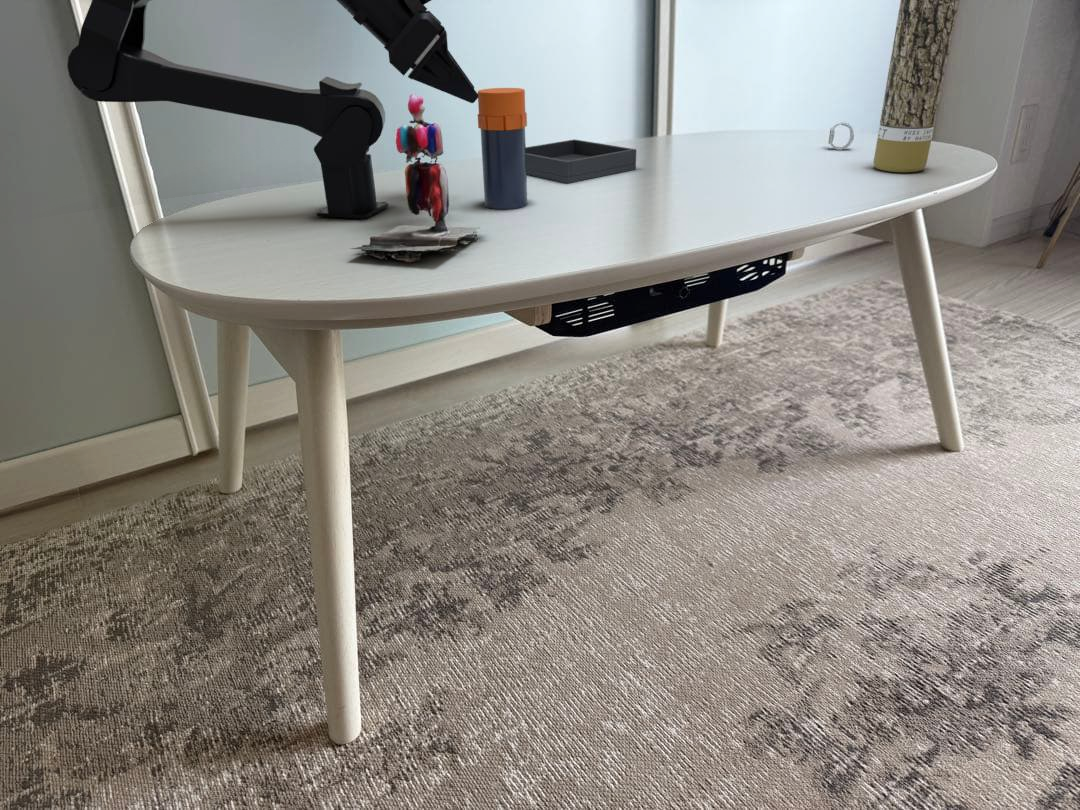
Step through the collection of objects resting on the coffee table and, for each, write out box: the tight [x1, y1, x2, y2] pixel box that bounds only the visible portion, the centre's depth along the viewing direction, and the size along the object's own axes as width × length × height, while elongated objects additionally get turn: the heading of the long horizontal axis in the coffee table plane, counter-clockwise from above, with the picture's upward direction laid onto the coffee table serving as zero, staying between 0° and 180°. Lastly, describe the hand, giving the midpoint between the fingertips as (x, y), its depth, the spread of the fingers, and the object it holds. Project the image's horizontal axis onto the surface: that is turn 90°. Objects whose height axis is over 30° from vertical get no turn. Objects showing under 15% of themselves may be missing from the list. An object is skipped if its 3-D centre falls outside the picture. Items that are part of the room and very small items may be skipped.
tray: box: [526, 139, 637, 184], centre depth 113 cm, size 13×13×3 cm
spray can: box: [480, 127, 528, 210], centre depth 93 cm, size 5×5×10 cm
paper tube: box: [873, 0, 960, 174], centre depth 102 cm, size 7×7×25 cm
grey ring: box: [828, 121, 855, 151], centre depth 122 cm, size 4×2×4 cm, turn 70°
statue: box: [350, 94, 481, 263], centre depth 76 cm, size 11×9×15 cm
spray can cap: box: [477, 87, 528, 130], centre depth 90 cm, size 5×5×4 cm
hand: (473, 95), depth 89 cm, fingers open, 9 cm apart
